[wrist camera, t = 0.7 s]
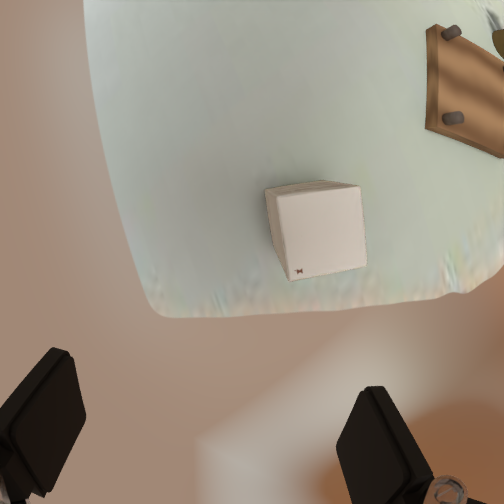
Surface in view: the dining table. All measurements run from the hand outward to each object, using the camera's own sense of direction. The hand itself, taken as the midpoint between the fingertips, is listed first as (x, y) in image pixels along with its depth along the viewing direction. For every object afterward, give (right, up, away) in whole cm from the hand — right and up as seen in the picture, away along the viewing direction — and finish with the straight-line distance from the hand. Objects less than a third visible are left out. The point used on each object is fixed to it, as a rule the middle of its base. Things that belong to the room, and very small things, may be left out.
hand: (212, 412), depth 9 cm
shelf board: (+33, +28, +24) cm, 50 cm away
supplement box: (+7, +10, +29) cm, 31 cm away
